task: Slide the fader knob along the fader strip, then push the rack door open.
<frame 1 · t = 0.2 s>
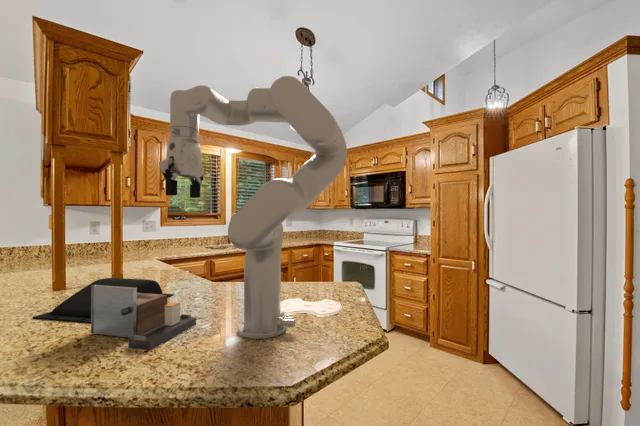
hand: (183, 196, 84), 36 cm above the countertop, tool pointing down, fingers open, 9 cm apart
rack door: (111, 311, 73), point 6 cm above the countertop, hinge at 0.0°
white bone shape: (308, 309, 97), on the countertop
wooden block: (133, 327, 79), on the countertop
fader strip: (165, 335, 75), on the countertop
fader knob: (172, 313, 77), point 5 cm above the countertop, slide at -2.5 cm
black piece: (112, 308, 99), on the countertop
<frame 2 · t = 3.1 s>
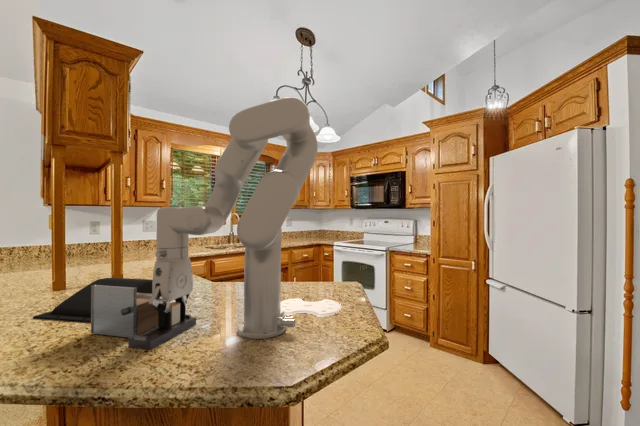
hand: (172, 322, 77), 2 cm above the countertop, tool pointing down, fingers closed on fader strip, 4 cm apart
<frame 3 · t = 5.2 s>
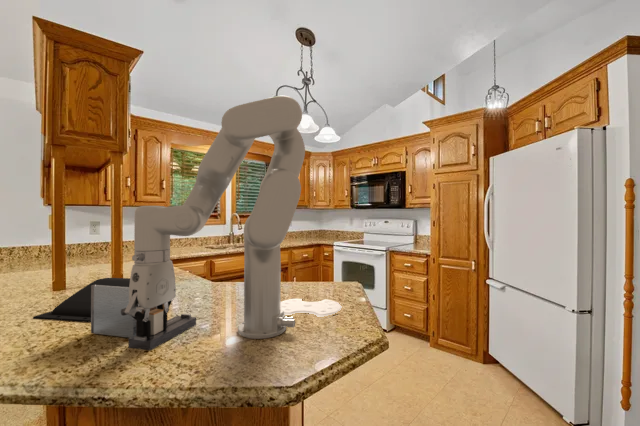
hand: (152, 332, 71), 2 cm above the countertop, tool pointing down, fingers open, 4 cm apart
fader knob: (154, 321, 71), point 5 cm above the countertop, slide at 3.5 cm, touching gripper
everything else where it was.
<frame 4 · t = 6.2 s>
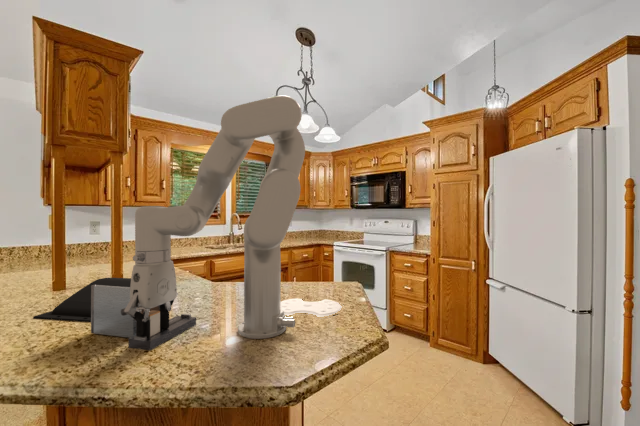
hand: (153, 331, 71), 2 cm above the countertop, tool pointing down, fingers open, 5 cm apart
fader knob: (151, 323, 70), point 5 cm above the countertop, slide at 4.5 cm
everything else where it was.
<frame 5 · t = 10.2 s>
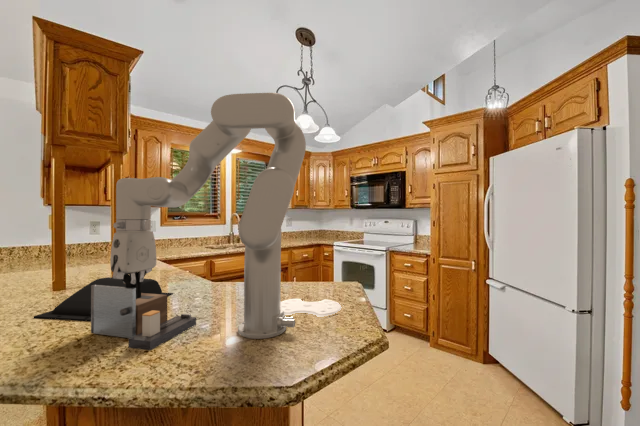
hand: (133, 298, 75), 9 cm above the countertop, tool pointing down, fingers closed
rack door: (110, 311, 73), point 6 cm above the countertop, hinge at 1.1°, touching gripper
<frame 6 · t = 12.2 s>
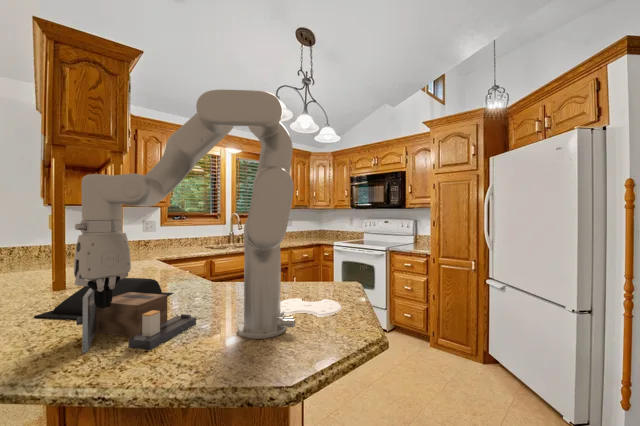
hand: (103, 306, 68), 9 cm above the countertop, tool pointing down, fingers closed
rack door: (87, 316, 70), point 6 cm above the countertop, hinge at 45.9°, touching gripper
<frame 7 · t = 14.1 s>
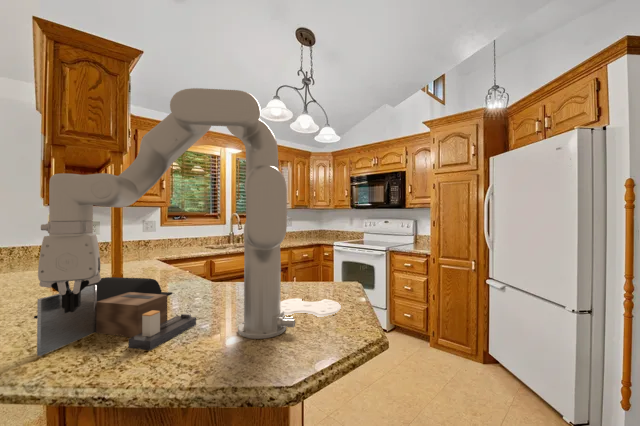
hand: (71, 310, 66), 9 cm above the countertop, tool pointing down, fingers closed
rack door: (68, 316, 69), point 6 cm above the countertop, hinge at 85.8°
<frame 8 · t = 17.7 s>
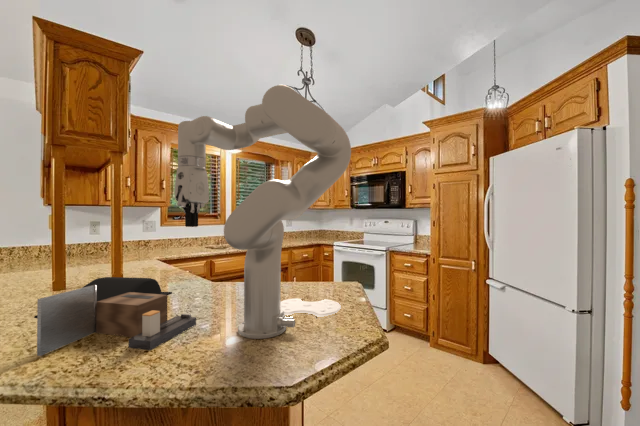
hand: (191, 226, 87), 27 cm above the countertop, tool pointing down, fingers closed
at the end: rack door at +86° (first picture: +0°); fader knob slide at 4.5 cm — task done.
